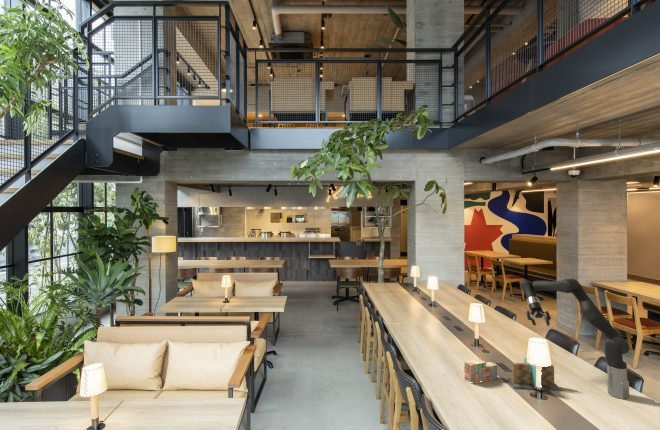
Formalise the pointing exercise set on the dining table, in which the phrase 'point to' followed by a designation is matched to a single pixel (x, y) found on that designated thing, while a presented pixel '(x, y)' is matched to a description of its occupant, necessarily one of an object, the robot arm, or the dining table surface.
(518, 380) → the halving stand
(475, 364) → the stack of blocks
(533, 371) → the teal plate
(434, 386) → the dining table surface
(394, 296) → the dining table surface
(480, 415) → the dining table surface
